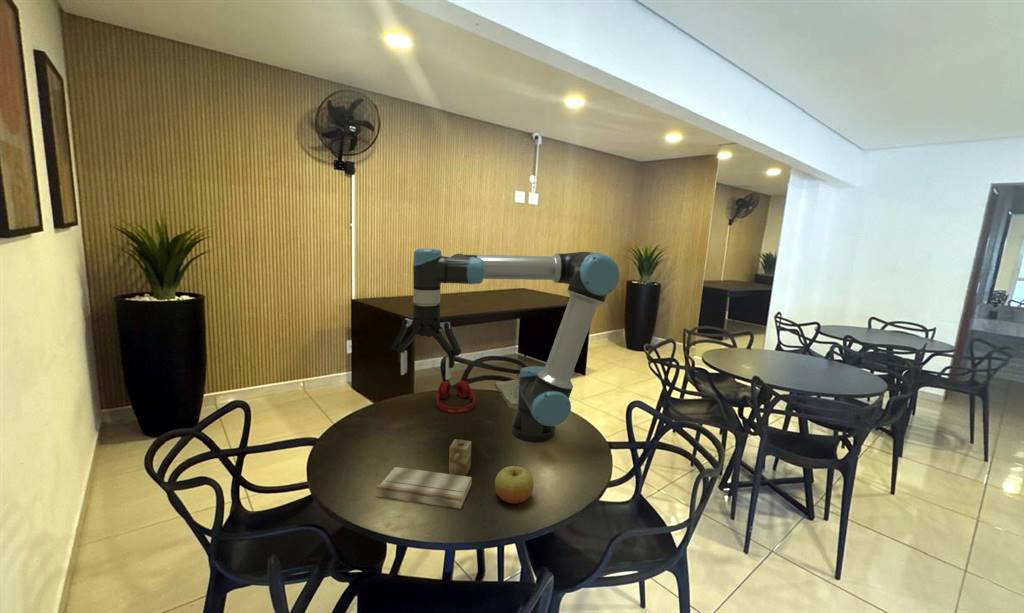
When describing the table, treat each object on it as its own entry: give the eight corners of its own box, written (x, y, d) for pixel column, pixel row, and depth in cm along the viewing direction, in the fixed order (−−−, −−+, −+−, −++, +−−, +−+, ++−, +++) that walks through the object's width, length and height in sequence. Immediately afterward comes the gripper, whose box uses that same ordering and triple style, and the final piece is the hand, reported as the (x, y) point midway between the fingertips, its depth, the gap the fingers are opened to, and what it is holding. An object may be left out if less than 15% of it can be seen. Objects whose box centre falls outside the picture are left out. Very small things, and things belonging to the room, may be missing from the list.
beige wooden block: (470, 466, 126) (471, 437, 125) (463, 480, 119) (464, 450, 118) (453, 464, 127) (454, 435, 126) (446, 478, 120) (446, 448, 118)
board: (471, 483, 118) (471, 474, 117) (460, 508, 107) (460, 498, 107) (394, 473, 121) (394, 464, 121) (376, 496, 110) (376, 486, 110)
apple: (502, 513, 106) (504, 483, 105) (488, 491, 115) (490, 463, 114) (538, 504, 110) (540, 476, 109) (522, 484, 119) (524, 457, 118)
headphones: (434, 393, 180) (437, 420, 162) (435, 378, 178) (438, 403, 160) (470, 392, 184) (477, 418, 165) (471, 377, 182) (478, 401, 163)
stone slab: (514, 406, 165) (492, 378, 193) (513, 416, 166) (492, 386, 193) (544, 403, 169) (519, 376, 196) (543, 413, 169) (518, 384, 197)
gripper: (473, 304, 124) (470, 376, 127) (391, 298, 128) (391, 367, 132) (465, 309, 116) (463, 384, 120) (379, 302, 121) (379, 375, 124)
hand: (425, 375), depth 126 cm, fingers open, 13 cm apart
